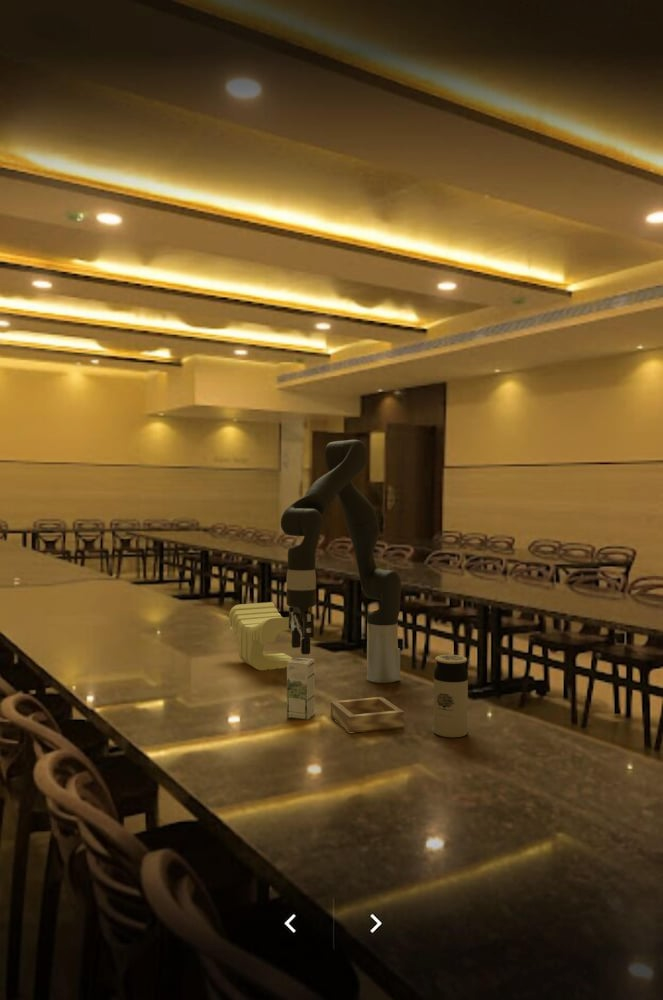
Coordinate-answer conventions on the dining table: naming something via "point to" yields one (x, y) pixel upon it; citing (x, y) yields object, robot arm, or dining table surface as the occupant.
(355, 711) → the socket block
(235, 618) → the slatted curved stool
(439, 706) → the travel mug
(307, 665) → the syrup box
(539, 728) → the dining table surface
